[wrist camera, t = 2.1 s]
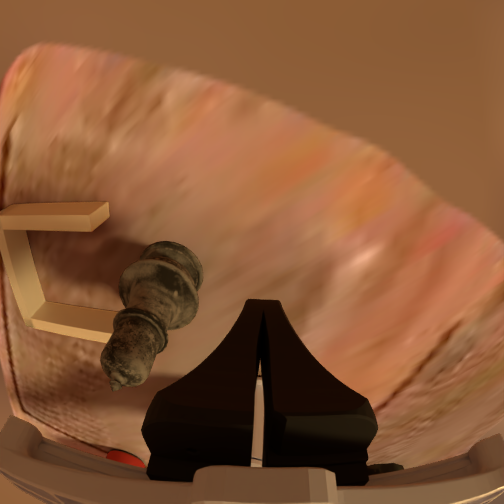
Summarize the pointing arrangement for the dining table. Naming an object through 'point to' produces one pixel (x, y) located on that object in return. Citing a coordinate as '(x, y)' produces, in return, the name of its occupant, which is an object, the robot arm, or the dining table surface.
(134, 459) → the beer can
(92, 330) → the holder
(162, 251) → the dark bronze turned piece
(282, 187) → the dining table surface
